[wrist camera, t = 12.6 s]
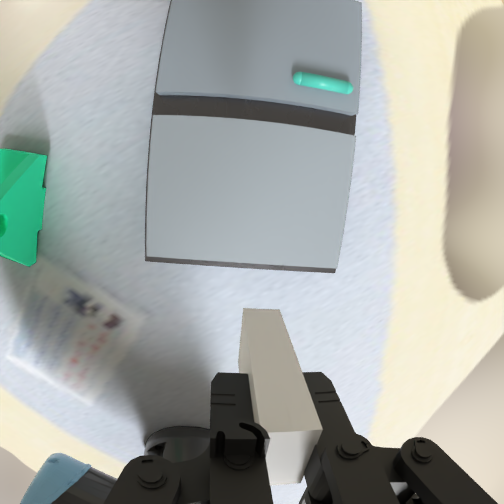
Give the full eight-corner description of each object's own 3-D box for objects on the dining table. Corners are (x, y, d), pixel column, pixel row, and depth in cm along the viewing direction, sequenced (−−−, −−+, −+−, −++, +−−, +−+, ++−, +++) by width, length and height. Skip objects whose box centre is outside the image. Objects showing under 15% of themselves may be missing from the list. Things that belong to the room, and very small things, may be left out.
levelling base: (325, 263, 32) (335, 273, 29) (152, 251, 30) (145, 261, 28) (349, 13, 24) (359, 3, 21) (179, -8, 22) (176, -22, 20)
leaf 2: (331, 263, 29) (337, 268, 28) (150, 251, 27) (146, 256, 26) (349, 136, 26) (356, 135, 24) (156, 117, 24) (153, 114, 22)
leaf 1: (351, 115, 25) (363, 112, 22) (159, 95, 23) (152, 88, 21) (355, 8, 22) (366, -3, 19) (179, -15, 20) (175, -29, 17)
